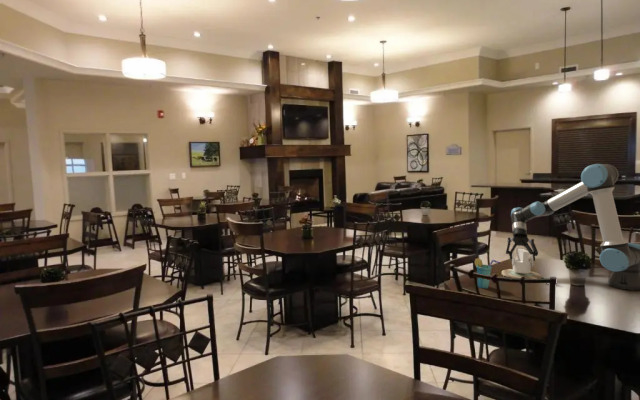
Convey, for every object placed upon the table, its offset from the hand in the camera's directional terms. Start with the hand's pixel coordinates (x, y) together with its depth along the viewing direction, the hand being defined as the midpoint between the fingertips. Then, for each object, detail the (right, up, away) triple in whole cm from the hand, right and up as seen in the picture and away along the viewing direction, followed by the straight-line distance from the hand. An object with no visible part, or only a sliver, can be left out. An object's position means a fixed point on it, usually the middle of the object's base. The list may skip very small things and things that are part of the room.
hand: (523, 265), depth 240 cm
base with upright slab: (+1, -4, +4) cm, 6 cm away
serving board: (+1, -7, +4) cm, 8 cm away
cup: (-27, -9, -17) cm, 33 cm away
